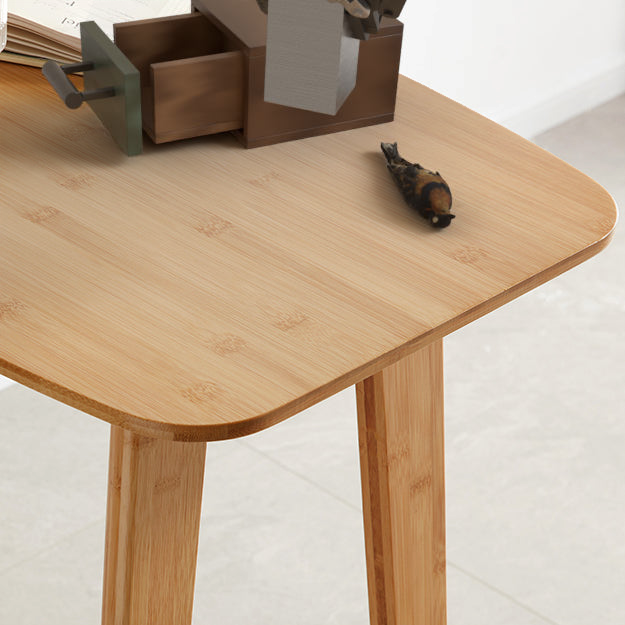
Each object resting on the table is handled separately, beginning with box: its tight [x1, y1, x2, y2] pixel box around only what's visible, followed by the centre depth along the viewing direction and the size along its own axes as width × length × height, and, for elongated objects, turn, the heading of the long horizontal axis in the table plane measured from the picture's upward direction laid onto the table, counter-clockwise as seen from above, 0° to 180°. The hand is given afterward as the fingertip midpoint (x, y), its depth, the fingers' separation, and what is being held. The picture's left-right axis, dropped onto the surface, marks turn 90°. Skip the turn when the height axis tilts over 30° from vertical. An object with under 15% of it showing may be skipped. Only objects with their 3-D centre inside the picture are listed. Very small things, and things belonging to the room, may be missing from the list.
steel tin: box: [264, 0, 360, 115], centre depth 66 cm, size 4×4×8 cm
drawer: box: [41, 12, 246, 158], centre depth 89 cm, size 16×10×7 cm, turn 117°
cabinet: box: [190, 0, 405, 150], centre depth 94 cm, size 14×12×9 cm
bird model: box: [379, 141, 456, 229], centre depth 85 cm, size 3×14×3 cm, turn 14°
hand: (324, 17), depth 67 cm, fingers closed on steel tin, 4 cm apart
